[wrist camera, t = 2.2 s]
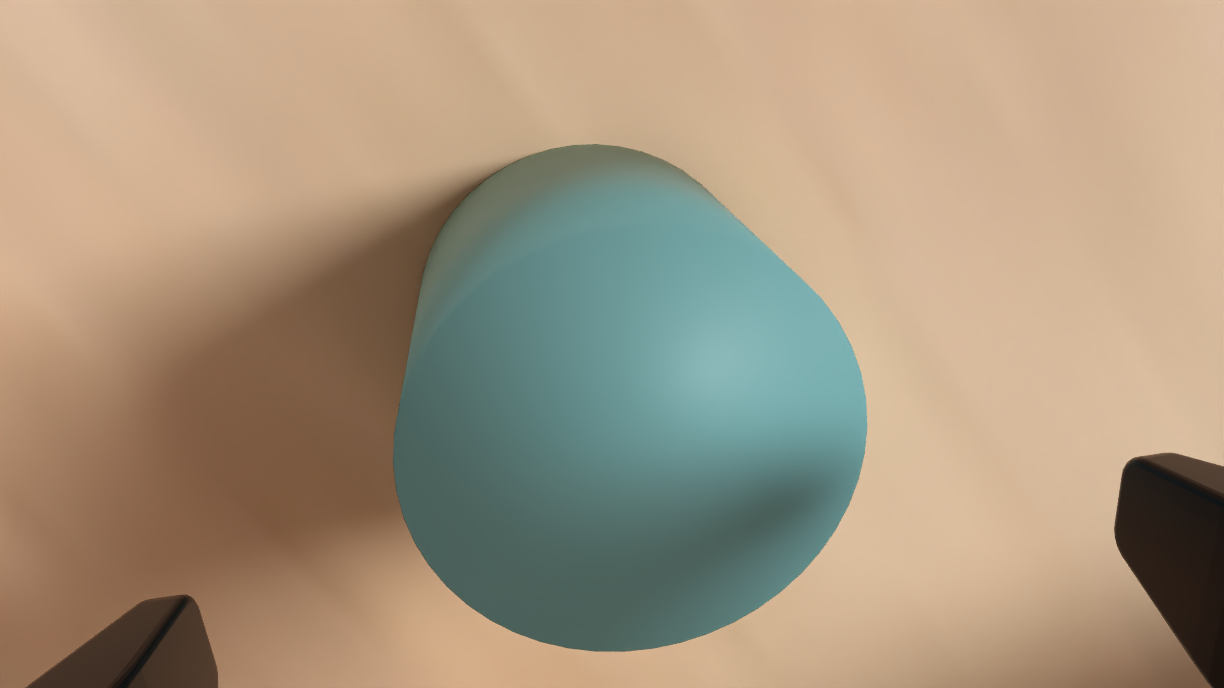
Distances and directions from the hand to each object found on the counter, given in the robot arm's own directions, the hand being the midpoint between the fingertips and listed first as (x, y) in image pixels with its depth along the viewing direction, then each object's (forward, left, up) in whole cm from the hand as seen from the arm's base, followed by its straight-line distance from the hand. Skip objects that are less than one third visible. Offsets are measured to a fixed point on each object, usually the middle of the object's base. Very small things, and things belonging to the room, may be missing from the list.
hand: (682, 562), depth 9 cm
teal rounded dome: (0, 0, -7) cm, 7 cm away
